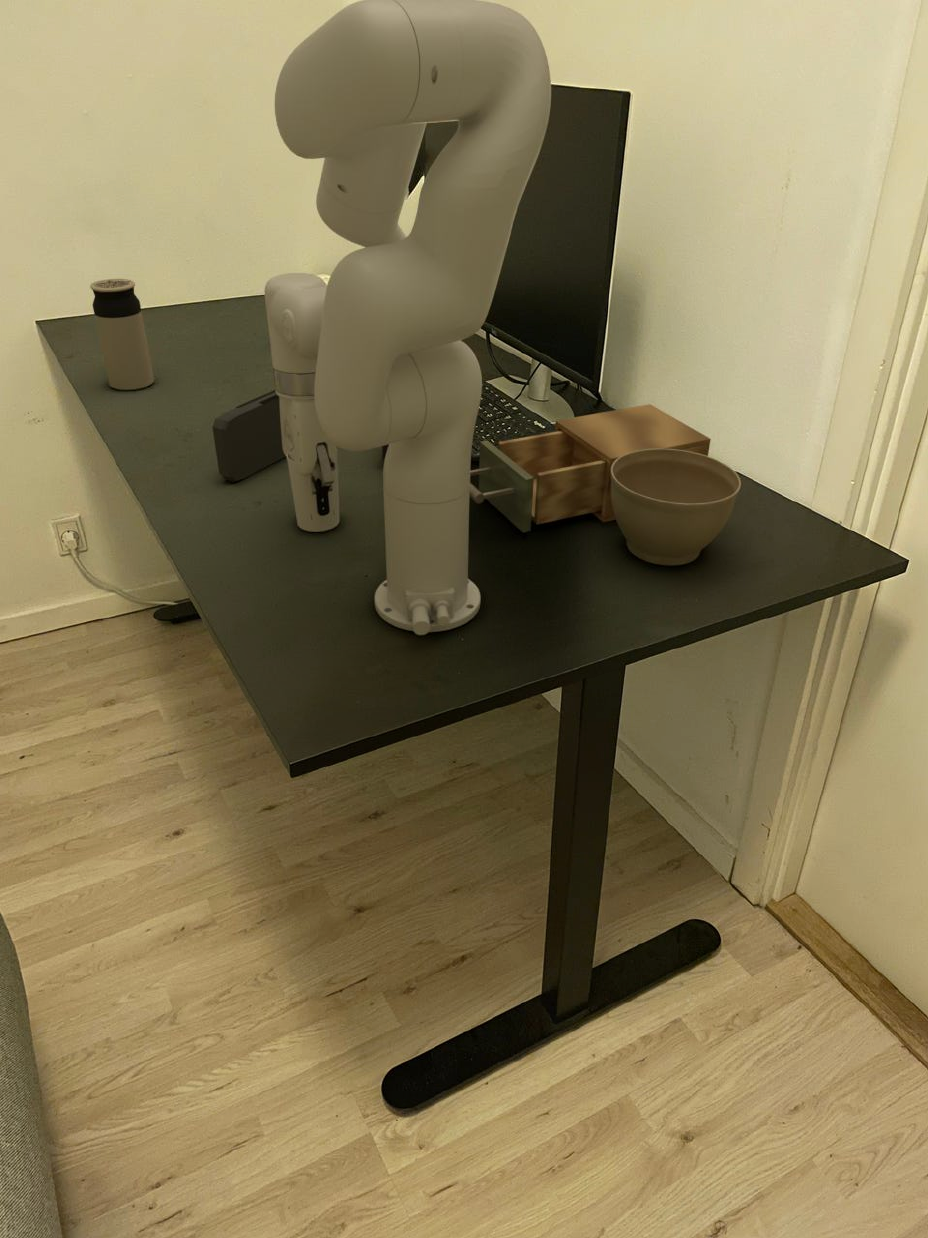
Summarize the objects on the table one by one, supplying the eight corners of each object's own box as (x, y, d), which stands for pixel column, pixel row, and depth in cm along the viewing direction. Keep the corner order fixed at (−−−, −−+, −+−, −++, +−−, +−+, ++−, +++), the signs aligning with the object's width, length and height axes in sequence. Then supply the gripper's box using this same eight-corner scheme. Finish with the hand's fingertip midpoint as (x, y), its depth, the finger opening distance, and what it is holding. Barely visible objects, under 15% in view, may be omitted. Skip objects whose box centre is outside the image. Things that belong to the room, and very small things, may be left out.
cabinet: (603, 522, 126) (610, 458, 121) (550, 480, 137) (555, 420, 132) (700, 500, 133) (711, 438, 127) (642, 462, 143) (650, 403, 138)
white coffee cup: (329, 536, 122) (323, 467, 116) (285, 528, 123) (276, 460, 118) (350, 514, 127) (345, 447, 121) (307, 507, 129) (300, 441, 123)
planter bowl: (634, 589, 112) (645, 509, 106) (583, 528, 125) (591, 454, 119) (749, 571, 116) (766, 494, 110) (689, 514, 129) (701, 442, 123)
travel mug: (156, 388, 168) (138, 287, 158) (111, 393, 165) (89, 291, 155) (152, 374, 174) (134, 276, 164) (108, 379, 171) (87, 279, 161)
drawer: (483, 541, 120) (485, 487, 115) (441, 499, 130) (441, 448, 125) (620, 510, 127) (626, 459, 123) (570, 473, 137) (574, 424, 133)
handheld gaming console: (315, 431, 152) (310, 372, 146) (328, 434, 151) (324, 375, 145) (218, 481, 135) (208, 417, 130) (232, 485, 134) (222, 421, 129)
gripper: (257, 364, 119) (273, 492, 129) (295, 404, 107) (309, 542, 117) (313, 356, 122) (324, 482, 132) (355, 395, 109) (364, 531, 119)
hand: (317, 509), depth 124 cm, fingers closed on white coffee cup, 3 cm apart
